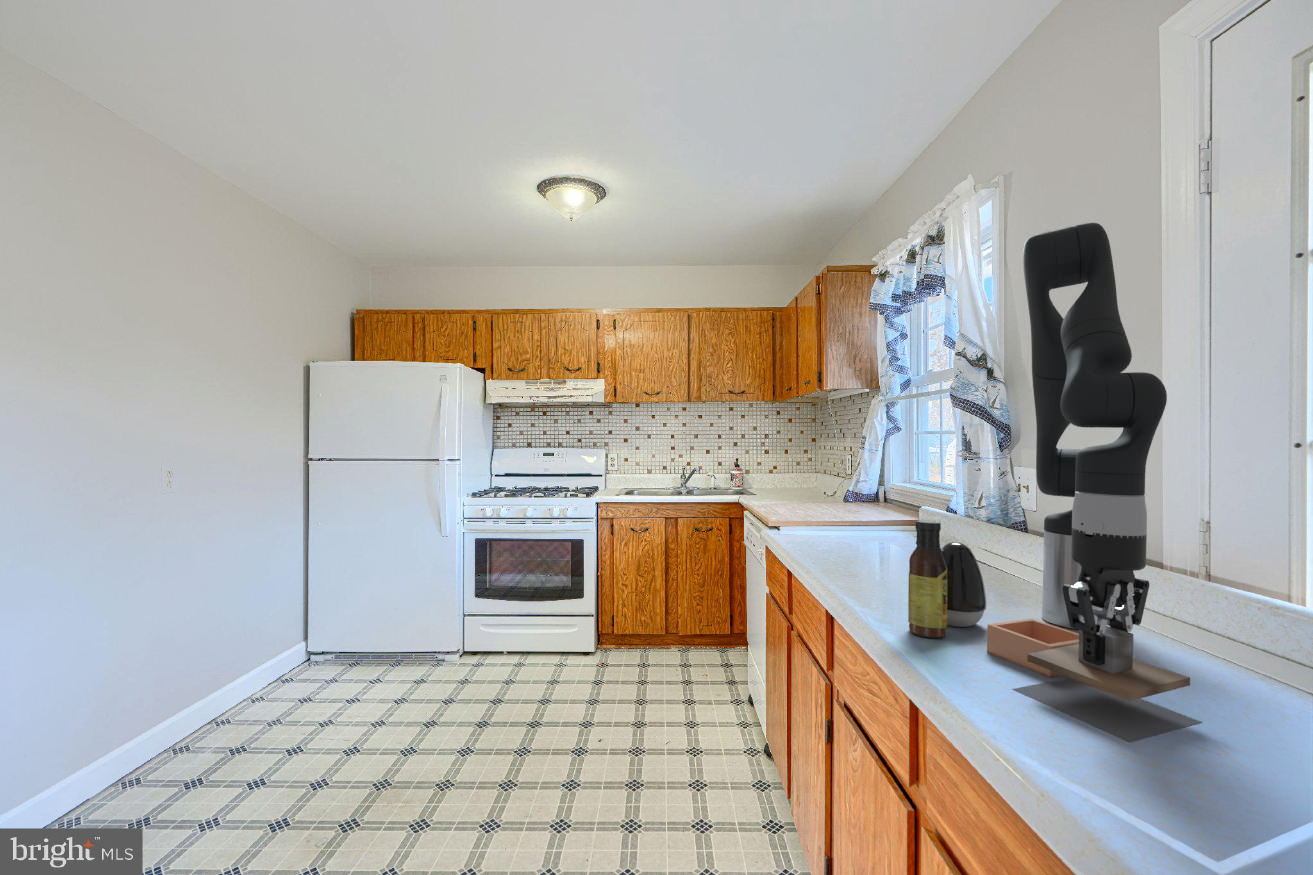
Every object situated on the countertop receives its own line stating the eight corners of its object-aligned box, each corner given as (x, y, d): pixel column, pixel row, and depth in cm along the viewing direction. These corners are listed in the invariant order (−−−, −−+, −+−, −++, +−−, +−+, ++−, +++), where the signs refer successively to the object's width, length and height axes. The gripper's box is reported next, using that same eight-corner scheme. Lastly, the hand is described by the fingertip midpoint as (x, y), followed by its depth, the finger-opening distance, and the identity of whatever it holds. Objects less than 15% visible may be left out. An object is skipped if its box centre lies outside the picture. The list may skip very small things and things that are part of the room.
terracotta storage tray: (1030, 648, 94) (1030, 618, 94) (1095, 672, 84) (1096, 639, 84) (986, 655, 90) (987, 624, 90) (1049, 681, 81) (1050, 646, 81)
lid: (1085, 649, 80) (1086, 611, 80) (1190, 685, 69) (1191, 641, 69) (1027, 661, 76) (1028, 620, 76) (1128, 701, 65) (1129, 654, 65)
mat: (1080, 679, 82) (1080, 675, 82) (1202, 726, 69) (1202, 722, 69) (1012, 693, 77) (1012, 688, 77) (1129, 747, 64) (1129, 741, 64)
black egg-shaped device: (916, 612, 112) (918, 536, 112) (972, 615, 111) (974, 538, 111) (934, 629, 102) (936, 546, 102) (996, 633, 101) (998, 548, 101)
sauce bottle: (951, 641, 96) (954, 525, 96) (912, 637, 97) (915, 523, 97) (940, 628, 103) (942, 519, 103) (903, 625, 104) (906, 518, 104)
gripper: (1111, 520, 79) (1108, 643, 79) (1041, 526, 73) (1038, 656, 74) (1176, 530, 72) (1173, 664, 72) (1104, 536, 66) (1101, 681, 67)
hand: (1105, 659), depth 73 cm, fingers closed on lid, 4 cm apart
